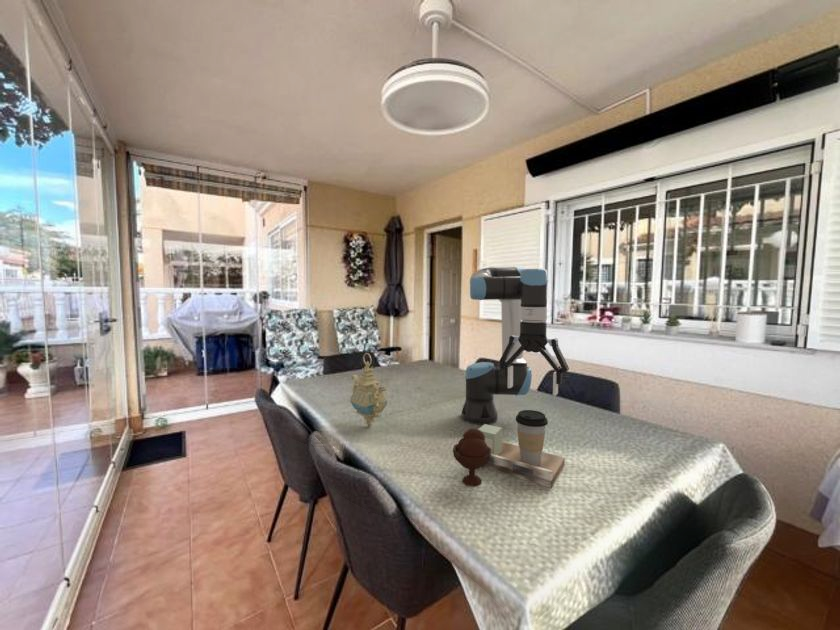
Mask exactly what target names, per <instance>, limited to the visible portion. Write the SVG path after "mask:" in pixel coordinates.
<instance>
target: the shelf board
mask: <svg viewBox="0 0 840 630" xmlns="http://www.w3.org/2000/svg"><path fill="white" fill-rule="evenodd" d="M565 460H566V458H565V457H563V456H558V455H555V454H551V453H547V452H543V451H542V456H541V463H540V465H539V466H534V465H530V464H526V463H523V462H521V458H520V447H519V445H516V444H512V443H508V442H505V441H504V442H503V441H502V452H501V453H500V454H499V455H494V454H491V455H490V459H489V461H488V463H487V464H486V465H484V466H483V467H482V468H484V469H488V470H491V471H495V472H498V473H501V474H504V475H508V476H510V477H515V478H516V479H517V478H518V479H521V480H524V481H528V482H531V483H534V484H537V485H540V486H544V487H548V488H551V489H552V487H553V485H554V483H555V481H556V480H557V478H558V476H559V474H560V473H561V471H562V469H563V467H564V466H565V464H566V461H565Z"/></svg>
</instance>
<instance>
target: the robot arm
mask: <svg viewBox="0 0 840 630" xmlns="http://www.w3.org/2000/svg"><path fill="white" fill-rule="evenodd" d="M548 282H549V279H548V271H547V269H545V268H524V267H520V266H517V267H516V266H506V267H503V266H502V267H485V268H482V269H478V270H477V271H474V272H473V273H472V274H471V276H470V278H469V297H470V299H471V300H475V301H476V300H478V301H489V300H491V301H492V300H493V301H494V300H498V301H500V303H501V305H500V307H501V357H500V359H499V360H498V365H497V366H495V365H494V363H493V362H487V361H481V362H480V361H479V362H475V363H472V364H468V366H466V368H465V376H464V378H465V400H464V404H463V406H462V409H461V419H462V420H463V421H464V422H465V423H466V422H467V423H470V424H474V425H484V424H487V425H490V424H493V423H496V422H497V421H498V419H499V418H498V411H497V408H496V405H495V402H494V395H496V396H497V395H499V396H501V395H502V396H503V395H504V396H516V397H517V396H526V395H527V394H528V393H529V392H530V390H531V384H532V376H533V374H532V368H531V367H530V366H528V363H527V361H526V360H525V359H524V352H526V353H536V354H537V353H540V355H542V356H543V358H544V359H545V360H546V362H548V364H549V365H550V366H551V368H552V369H553V370H554V372H553V373H552V374H553V375H552V396H554V397H556V396H557V395H558V394H559V385H561V384H562V382H563V373H567V372H568V371H569V370H570V367H569V366H568V363H567V361H566V359H565V356H564V355H563V353H562V350H561V348H560V346H559V340H558V338H556V337H554V338H548V337H547V327H548V326H547V322H546V321H547V318H548V317H547V316H548V311H547V310H548V307H547V306H548ZM547 344H548V345H549V346H550V347H551V348H552V351H553V354H554V355H555V358H556V359H557V361H556V359H555V358H554V357H553V356H552V354H551V353H550V352H549V350H548V349H547V347H546V346H547Z"/></svg>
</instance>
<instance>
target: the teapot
mask: <svg viewBox="0 0 840 630" xmlns="http://www.w3.org/2000/svg"><path fill="white" fill-rule="evenodd" d="M366 355H368V357H369V360H370V361H369V360H367V361H366V360H365V357H366ZM362 359H363V360H362V361H363V364H364V367H361V369H362V373H360V374H361V377H360V379H359V376H358V375H357V374H352V375H351V380H354V384H353V388H352V395H351V396H350V400H349V401H350V404H351V406H352V407H353V408H354V409H355V410H356V411H355V413H356V414H358V415H360V416H362V417H363V419H364V420H365V424H366V426H367V427H368V426H369V427H368V428H370V427H373V424H372V423H373V422H374V420H375V419H377V418H380V417H381V414H382V412H383V411H384V409H385V408H386V407H387V405H388V398H387V396H386V395H385V393H383V392H385V391H387V387H386V385H381V386H378V385H380V384H381V382H380V381H378V380H376V377H375V376H374V375H375V373H374V369H373V368H374V367H373V365H372V361H373V359H372V356H371V354H370V353H368V352H365V353H364V354H363V356H362ZM371 365H372V366H371ZM370 366H371V367H370Z"/></svg>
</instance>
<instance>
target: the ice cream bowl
mask: <svg viewBox="0 0 840 630" xmlns="http://www.w3.org/2000/svg"><path fill="white" fill-rule="evenodd" d="M478 429H479V428H469V429H468V430H467V431H465V432H464V434H463V436H462V438H460V439H459V440H458V443H456V444H455V445H453V448H452V453H453V457H454V459H455V460H456V461H457V462H458V463H459V465H461V466H462V467H463V468H464V469H467V470H468V474H467V475H464V476H463V477H462V481H461V482H462V483H463V484H464V485H465V486H468V487H478V486H480V485H481V484H482V479H481V477H479V475H476V470H479V469H481V468H484V467H483V466H484V465H486V464H487V463H488V461H489V459H490V455H491V448H489V447H488V446H487V444H486V443H485V437H484V434H483V433H482V432H481V431H480V430H478Z"/></svg>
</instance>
